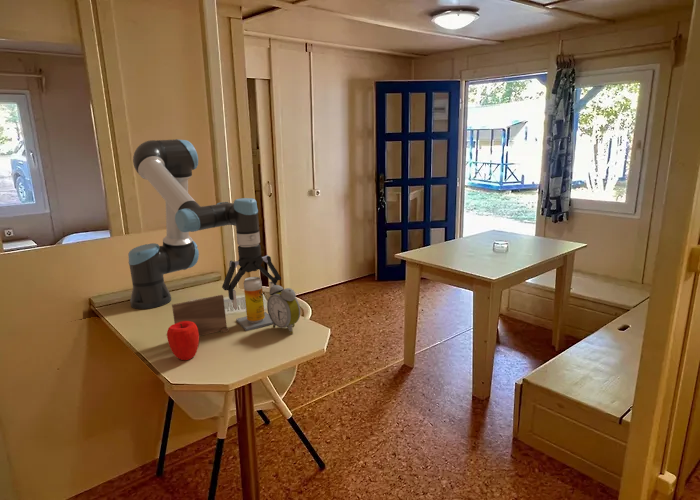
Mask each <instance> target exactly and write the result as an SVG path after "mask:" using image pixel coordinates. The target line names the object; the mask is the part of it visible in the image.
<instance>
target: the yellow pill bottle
mask: <svg viewBox="0 0 700 500" xmlns="http://www.w3.org/2000/svg"><path fill="white" fill-rule="evenodd" d="M262 282H263V281H262V279H261V278H260V277H258V276H250V277H246V278H245V279H244V281H243V289H244V291H243V292H244V301H245V310H246V316H247V320H249V322H251V323H257V322H261V321H263V319H264V318H265V314H264V312H265V304H264V292H263V284H262Z"/></svg>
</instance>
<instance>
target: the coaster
mask: <svg viewBox="0 0 700 500" xmlns="http://www.w3.org/2000/svg"><path fill="white" fill-rule="evenodd" d="M264 314H265V318H264V319H263V321H261V322H257V323H251V322H249V320H247V315H246V316H242V317H238V318H236V322H237V323H238V325H240V326H241V327H242V328H243V329H244V331H245V332H247V331H251V330H256V329H261V328H264V327H268V326H273V322H272V320H271V319H270V317H269V314H268V312H266V311H264Z"/></svg>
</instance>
